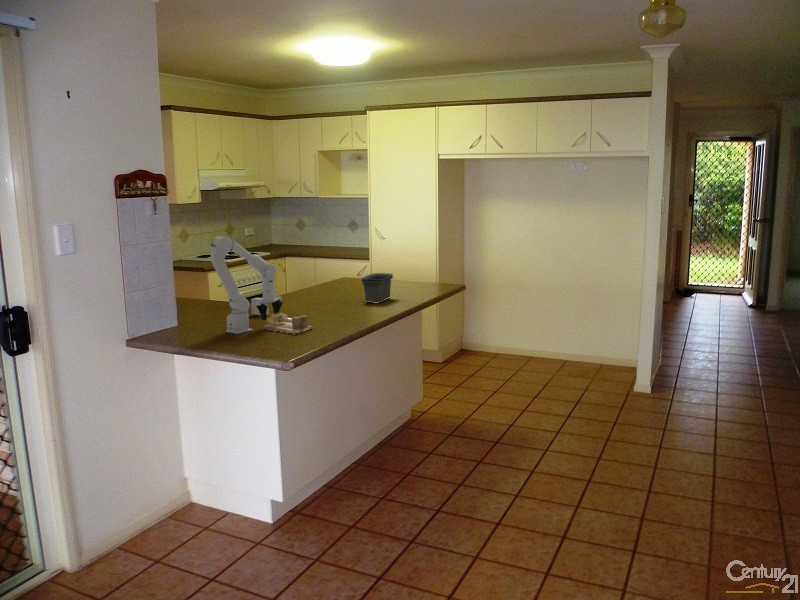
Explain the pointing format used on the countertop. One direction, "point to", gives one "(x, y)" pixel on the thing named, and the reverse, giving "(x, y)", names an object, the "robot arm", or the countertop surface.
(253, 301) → the medicine box
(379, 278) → the storage bin
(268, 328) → the beige blocky piece
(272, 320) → the wing nut
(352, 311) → the countertop surface
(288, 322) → the threaded rod
